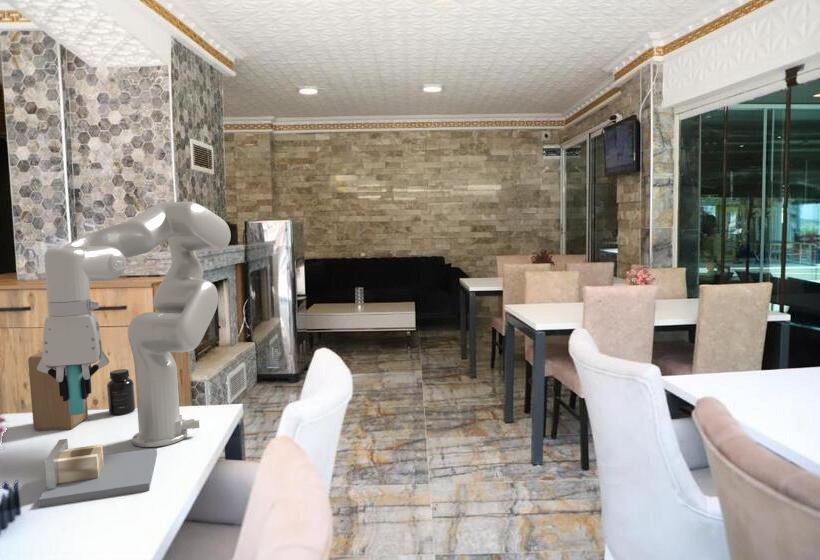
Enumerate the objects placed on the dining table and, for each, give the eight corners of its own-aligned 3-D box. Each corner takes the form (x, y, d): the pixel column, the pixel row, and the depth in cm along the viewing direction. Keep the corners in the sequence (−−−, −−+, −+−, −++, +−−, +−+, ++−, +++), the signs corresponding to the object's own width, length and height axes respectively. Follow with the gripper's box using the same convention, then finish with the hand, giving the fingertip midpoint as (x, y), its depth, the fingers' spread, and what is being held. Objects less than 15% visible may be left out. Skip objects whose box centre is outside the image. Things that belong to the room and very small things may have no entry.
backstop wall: (69, 465, 126) (67, 438, 126) (56, 488, 115) (53, 459, 115) (61, 466, 126) (59, 439, 125) (47, 490, 115) (44, 460, 114)
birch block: (103, 464, 126) (102, 444, 126) (98, 477, 120) (96, 456, 119) (66, 469, 124) (65, 449, 124) (58, 483, 117) (57, 461, 117)
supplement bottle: (109, 410, 170) (106, 369, 169) (135, 407, 173) (133, 367, 172) (108, 417, 164) (105, 375, 163) (134, 413, 167) (132, 372, 166)
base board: (157, 454, 136) (156, 448, 136) (149, 490, 117) (148, 483, 117) (63, 467, 130) (63, 460, 130) (39, 507, 111) (38, 499, 111)
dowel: (86, 410, 122) (83, 362, 122) (83, 414, 120) (80, 365, 119) (71, 411, 122) (67, 364, 121) (67, 415, 119) (64, 367, 118)
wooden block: (52, 419, 163) (46, 348, 161) (89, 417, 164) (84, 347, 162) (32, 432, 153) (26, 356, 151) (72, 430, 154) (66, 355, 152)
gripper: (117, 304, 125) (122, 389, 127) (28, 309, 120) (35, 398, 121) (111, 309, 118) (117, 399, 120) (17, 314, 113) (25, 408, 114)
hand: (76, 397), depth 120 cm, fingers closed on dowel, 2 cm apart
